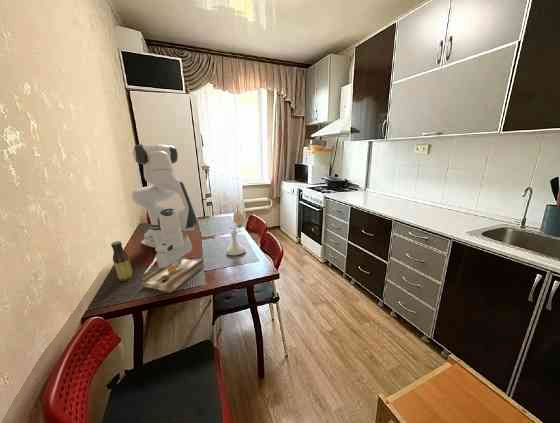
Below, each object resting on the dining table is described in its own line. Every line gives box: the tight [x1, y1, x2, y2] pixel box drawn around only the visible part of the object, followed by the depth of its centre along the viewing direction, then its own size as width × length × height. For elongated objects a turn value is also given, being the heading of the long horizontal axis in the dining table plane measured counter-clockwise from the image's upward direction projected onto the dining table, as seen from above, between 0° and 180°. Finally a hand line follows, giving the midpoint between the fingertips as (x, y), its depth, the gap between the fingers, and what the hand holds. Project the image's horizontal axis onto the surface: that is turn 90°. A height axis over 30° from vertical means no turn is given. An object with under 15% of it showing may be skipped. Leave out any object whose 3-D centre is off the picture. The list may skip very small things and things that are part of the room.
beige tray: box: [141, 258, 205, 293], centre depth 117 cm, size 16×24×4 cm, turn 161°
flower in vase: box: [225, 211, 246, 256], centre depth 136 cm, size 13×11×25 cm
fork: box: [143, 256, 157, 275], centre depth 130 cm, size 3×20×2 cm, turn 6°
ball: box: [167, 265, 176, 274], centre depth 114 cm, size 4×4×4 cm
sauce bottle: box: [110, 240, 134, 282], centre depth 114 cm, size 7×6×20 cm
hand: (178, 266), depth 118 cm, fingers closed
